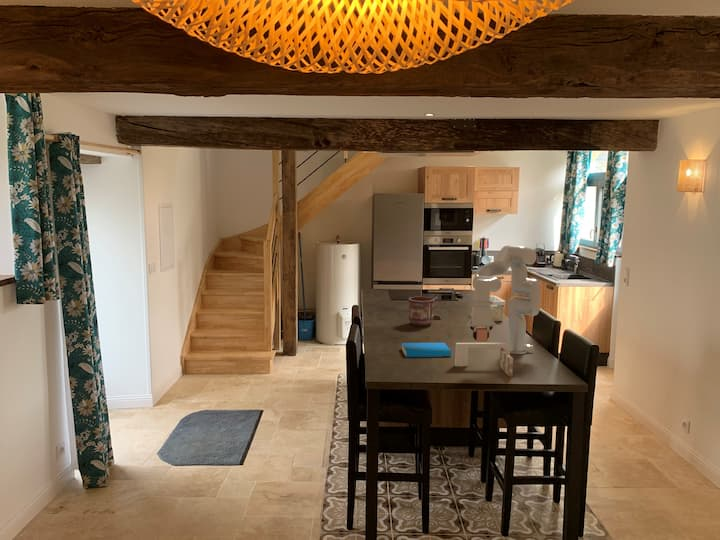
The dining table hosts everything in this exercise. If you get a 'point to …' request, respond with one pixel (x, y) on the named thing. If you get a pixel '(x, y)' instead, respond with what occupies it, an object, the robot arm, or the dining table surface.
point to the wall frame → (462, 348)
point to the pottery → (421, 311)
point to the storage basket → (497, 308)
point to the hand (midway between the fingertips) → (480, 338)
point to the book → (425, 349)
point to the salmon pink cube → (481, 334)
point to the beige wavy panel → (506, 362)
